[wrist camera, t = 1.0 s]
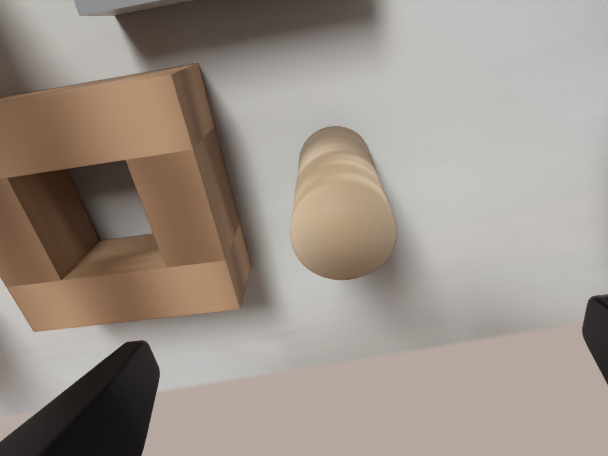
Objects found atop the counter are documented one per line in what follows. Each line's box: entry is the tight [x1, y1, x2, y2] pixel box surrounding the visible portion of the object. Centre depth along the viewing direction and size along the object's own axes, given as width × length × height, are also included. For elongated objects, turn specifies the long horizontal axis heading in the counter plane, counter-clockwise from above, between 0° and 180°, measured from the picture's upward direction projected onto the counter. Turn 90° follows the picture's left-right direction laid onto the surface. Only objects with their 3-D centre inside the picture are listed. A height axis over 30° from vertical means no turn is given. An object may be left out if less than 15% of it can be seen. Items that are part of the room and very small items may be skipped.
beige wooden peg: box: [290, 126, 397, 280], centre depth 15 cm, size 3×3×7 cm
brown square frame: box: [0, 63, 251, 332], centre depth 18 cm, size 10×10×4 cm
